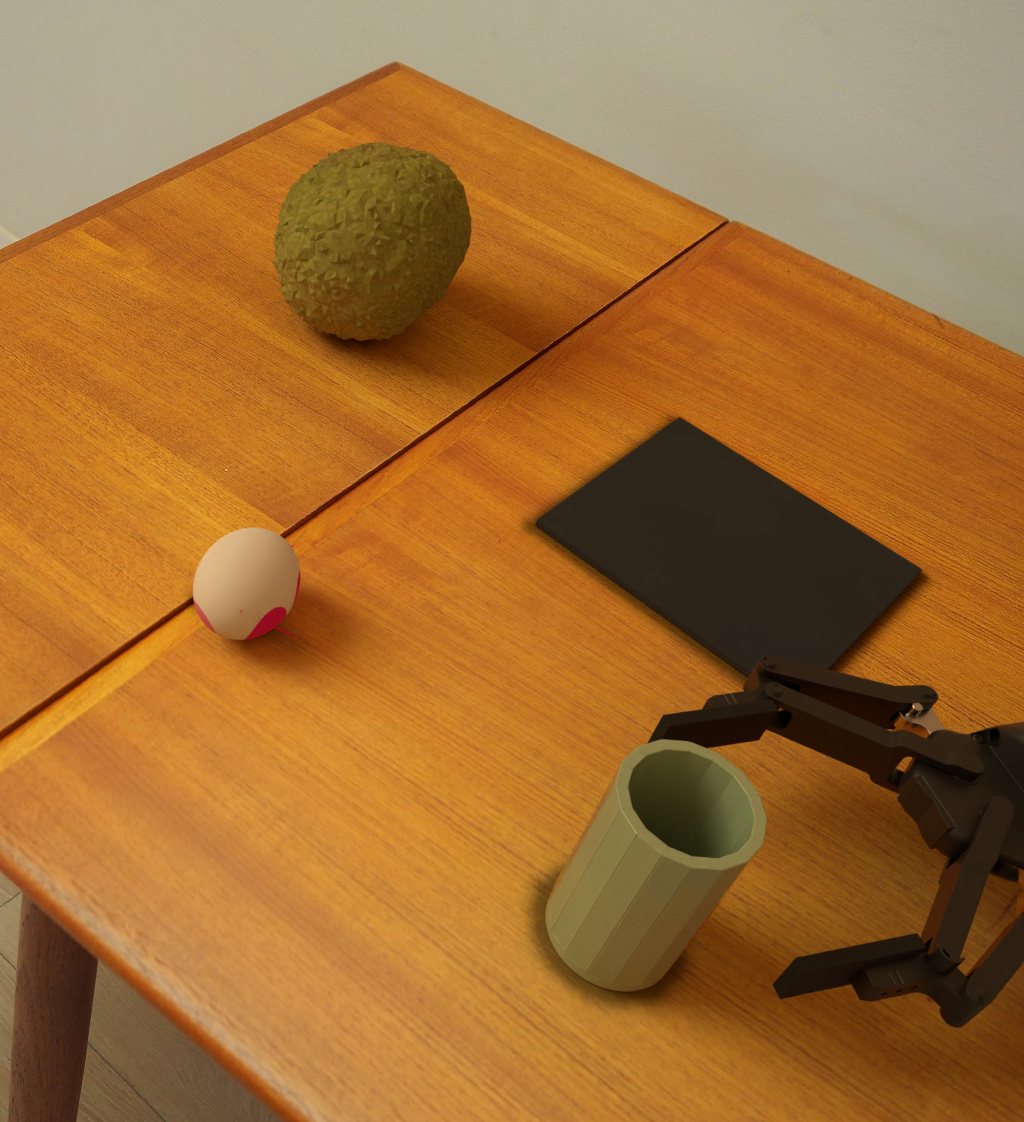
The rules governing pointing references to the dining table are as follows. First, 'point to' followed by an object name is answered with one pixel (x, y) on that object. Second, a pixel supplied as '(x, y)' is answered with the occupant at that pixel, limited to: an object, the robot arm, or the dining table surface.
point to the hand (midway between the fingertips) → (717, 848)
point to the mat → (730, 551)
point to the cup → (653, 863)
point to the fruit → (371, 240)
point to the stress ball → (246, 583)
